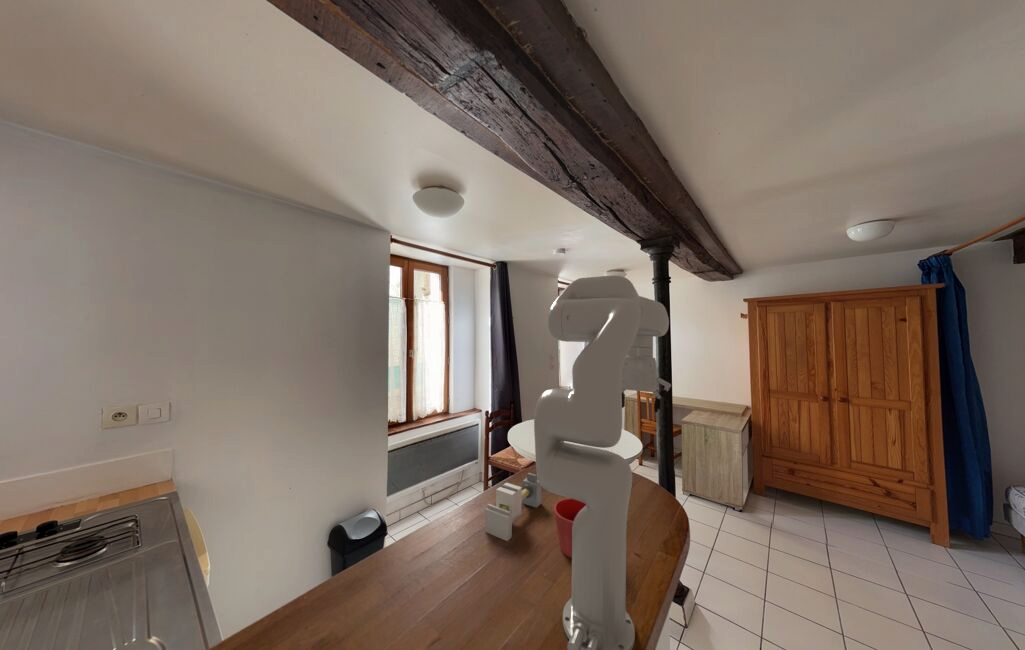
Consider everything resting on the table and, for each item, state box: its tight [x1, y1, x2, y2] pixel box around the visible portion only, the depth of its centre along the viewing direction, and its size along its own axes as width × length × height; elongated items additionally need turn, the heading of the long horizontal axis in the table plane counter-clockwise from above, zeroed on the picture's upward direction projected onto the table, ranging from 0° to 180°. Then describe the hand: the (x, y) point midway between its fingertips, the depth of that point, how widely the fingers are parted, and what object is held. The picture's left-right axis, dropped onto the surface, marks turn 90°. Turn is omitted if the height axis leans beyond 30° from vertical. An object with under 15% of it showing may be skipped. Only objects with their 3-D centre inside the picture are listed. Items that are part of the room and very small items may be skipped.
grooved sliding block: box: [495, 482, 523, 524], centre depth 88 cm, size 5×5×8 cm
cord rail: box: [485, 472, 542, 542], centre depth 92 cm, size 21×7×9 cm, turn 148°
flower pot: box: [553, 497, 586, 559], centre depth 79 cm, size 11×11×10 cm
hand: (639, 409), depth 96 cm, fingers open, 9 cm apart
